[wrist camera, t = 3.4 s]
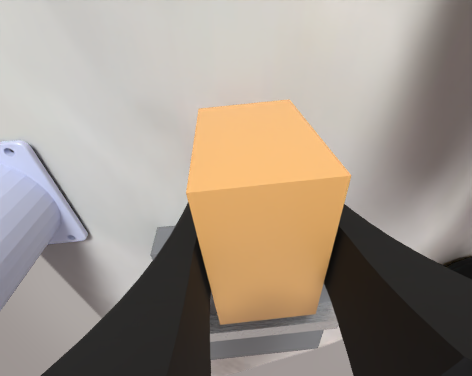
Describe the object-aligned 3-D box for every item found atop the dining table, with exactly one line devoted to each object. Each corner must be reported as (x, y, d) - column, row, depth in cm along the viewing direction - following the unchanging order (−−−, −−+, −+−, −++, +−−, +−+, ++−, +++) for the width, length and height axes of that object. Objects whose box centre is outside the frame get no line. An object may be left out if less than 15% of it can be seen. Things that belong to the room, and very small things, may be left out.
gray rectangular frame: (200, 337, 30) (199, 361, 28) (157, 227, 18) (150, 254, 16) (311, 325, 30) (317, 348, 28) (340, 208, 18) (355, 233, 16)
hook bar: (183, 326, 23) (181, 345, 22) (179, 318, 22) (177, 337, 21) (330, 310, 23) (336, 328, 22) (332, 301, 22) (340, 320, 21)
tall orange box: (218, 221, 15) (220, 324, 10) (198, 108, 11) (186, 193, 6) (282, 215, 15) (315, 314, 10) (289, 99, 11) (351, 175, 6)
